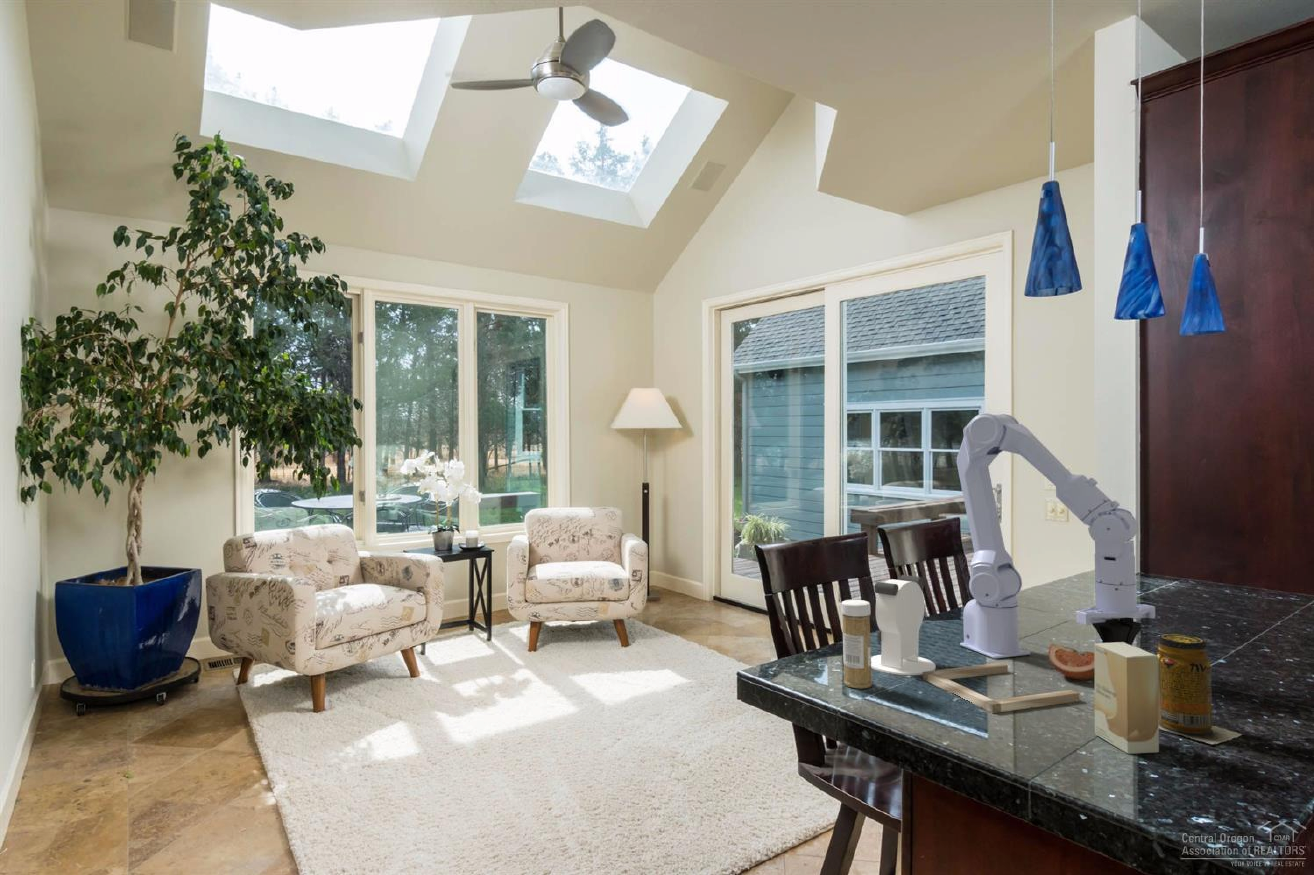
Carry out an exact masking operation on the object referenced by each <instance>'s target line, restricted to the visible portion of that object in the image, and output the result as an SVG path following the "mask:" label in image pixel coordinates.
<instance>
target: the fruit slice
mask: <svg viewBox="0 0 1314 875" xmlns="http://www.w3.org/2000/svg"><path fill="white" fill-rule="evenodd" d="M1094 653H1095V652H1093V651H1092V652H1091V651H1083V652H1082V651H1077V649H1074V648H1071V647H1069V646H1064V645H1060V644H1053V643H1050V646H1049V648H1048V658H1049V661H1050V663H1051V665H1052V667H1054V669H1055V670H1056V671H1058V672H1059V673H1061V674H1062V675H1063V676H1066V677H1068V678H1070V679H1074V680H1078V681H1079V680H1080V681H1082V680H1083V681H1084V680H1085V681H1086V680H1090V679H1092V678H1095V654H1094Z"/></svg>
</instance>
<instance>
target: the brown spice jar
mask: <svg viewBox="0 0 1314 875" xmlns="http://www.w3.org/2000/svg"><path fill="white" fill-rule="evenodd" d="M840 606H841V608H840V610H841V616H842V655H843V658H842V659H843V660H842V661H843V671H844V672H843V674H844V679H843V683H844V685H845V686H847V687H849V688H851V689H852V688H853V689H859V690H860V689H868V688H870V687H872V686H873V681H872V680H873V679H872V668H871V657H872V647H871V626H870V625H871V624H870V617H871V614H872V613H871V603H870V602H869V601H867V600H862V599H845V600H843V601H841V605H840Z"/></svg>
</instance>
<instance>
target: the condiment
mask: <svg viewBox="0 0 1314 875" xmlns="http://www.w3.org/2000/svg"><path fill="white" fill-rule="evenodd" d="M1157 641H1158V648H1157V649H1158V652H1159V653H1158V654H1156V655H1157V656H1158V681H1159V730H1161V731H1165V732H1168V733H1172V734H1175V735H1181V736H1183V737H1186V738H1190V739H1191V740H1195V741H1199V742H1204V743H1206V744H1210V745H1217V744H1220V743H1224V742H1227V741H1231V740H1233V739H1234V738H1238V737H1240V736H1242V735H1243V734H1241V733H1238V732H1236V731H1232V730H1228V729H1226V728H1222V727H1219V726H1216V725H1214V724H1213V702H1212V698H1213V696H1212V671H1211V669H1212V667H1211V663H1210V661H1209V660H1208V652H1207V646H1208V645H1207V642H1206V641H1205V640H1203V639H1202V638H1199V637H1195V636H1191V635H1185V634H1176V633H1175V634H1174V633H1173V634H1171V633H1168V634H1167V633H1166V634H1162V635H1159V637H1158V640H1157Z"/></svg>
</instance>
